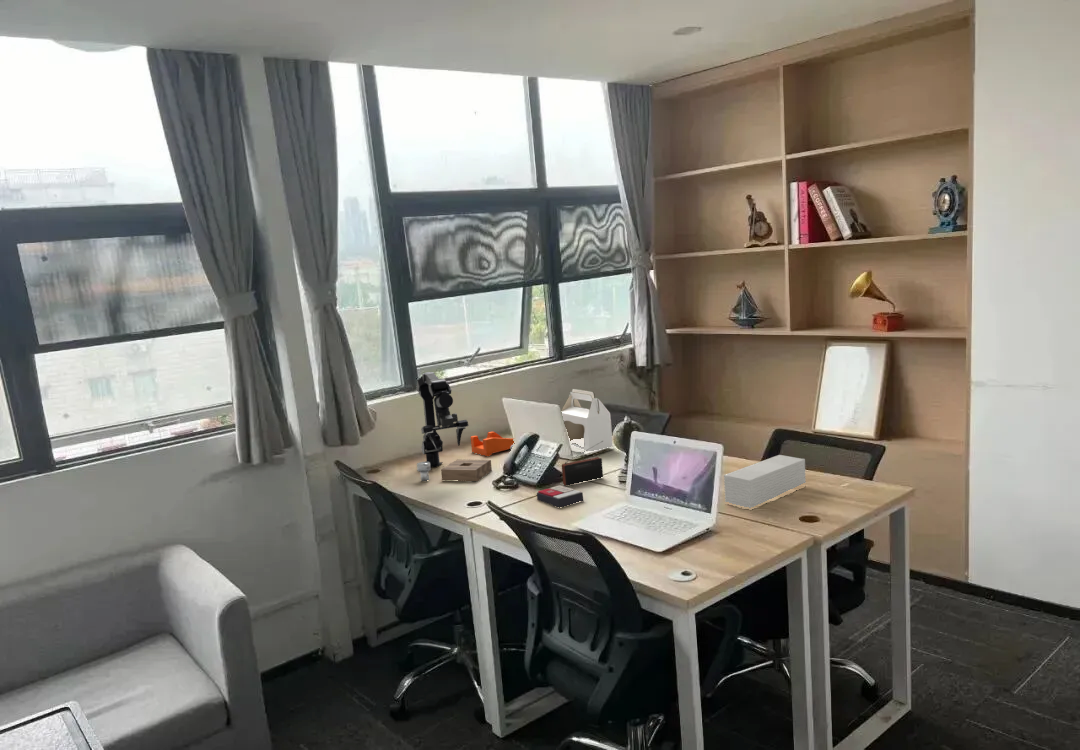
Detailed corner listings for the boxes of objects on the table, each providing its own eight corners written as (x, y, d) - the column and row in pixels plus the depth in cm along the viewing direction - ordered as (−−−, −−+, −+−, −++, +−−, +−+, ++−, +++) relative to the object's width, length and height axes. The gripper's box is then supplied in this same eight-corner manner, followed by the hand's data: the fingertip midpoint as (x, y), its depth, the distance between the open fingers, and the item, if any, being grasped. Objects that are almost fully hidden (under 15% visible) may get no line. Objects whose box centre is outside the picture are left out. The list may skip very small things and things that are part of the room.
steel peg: (422, 478, 332) (420, 461, 331) (434, 478, 330) (432, 461, 329) (416, 482, 327) (414, 464, 326) (427, 482, 325) (426, 465, 324)
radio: (566, 486, 303) (563, 449, 301) (563, 485, 306) (560, 448, 304) (608, 478, 310) (605, 441, 308) (604, 476, 313) (601, 440, 311)
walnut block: (458, 470, 341) (457, 459, 340) (491, 470, 335) (490, 459, 334) (442, 480, 326) (440, 469, 325) (476, 481, 320) (475, 470, 320)
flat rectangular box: (560, 484, 296) (582, 490, 283) (561, 495, 296) (584, 501, 283) (535, 490, 290) (558, 497, 277) (537, 501, 290) (559, 509, 278)
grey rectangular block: (780, 482, 287) (779, 454, 285) (805, 488, 278) (804, 459, 277) (725, 505, 267) (723, 474, 266) (750, 511, 259) (749, 480, 257)
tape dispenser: (487, 457, 361) (485, 440, 359) (472, 453, 371) (470, 436, 369) (517, 449, 372) (516, 432, 370) (502, 445, 382) (501, 429, 380)
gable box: (561, 448, 365) (557, 390, 360) (584, 443, 372) (579, 385, 368) (590, 456, 346) (586, 394, 342) (613, 450, 353) (609, 390, 349)
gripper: (423, 411, 309) (429, 450, 308) (468, 405, 315) (474, 442, 314) (418, 414, 319) (424, 451, 318) (462, 407, 325) (468, 444, 324)
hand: (448, 447), depth 318 cm, fingers open, 9 cm apart
